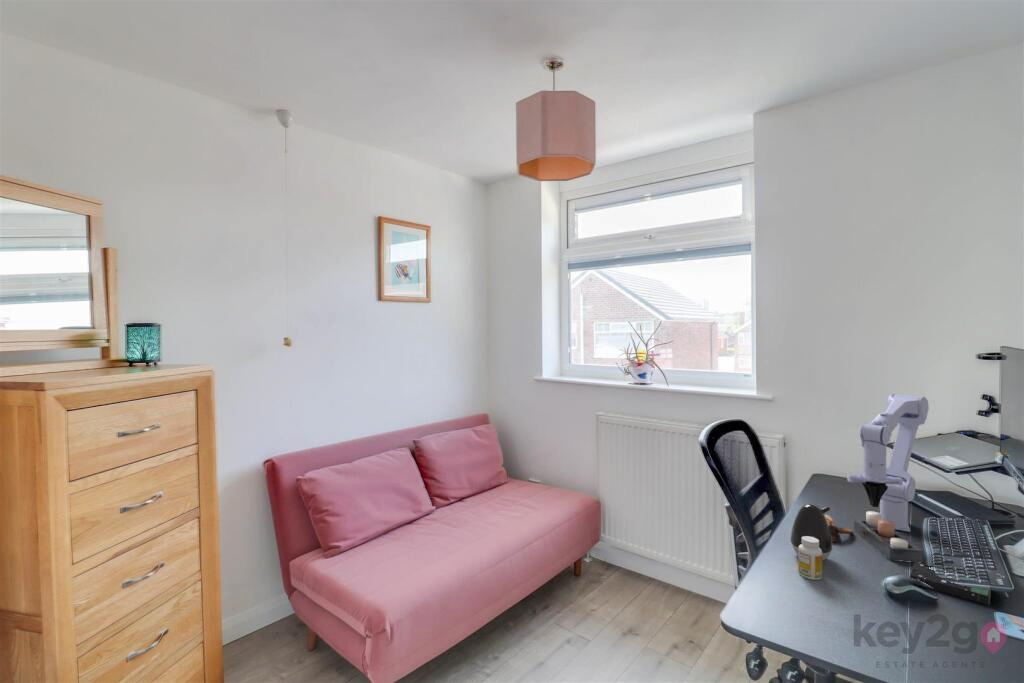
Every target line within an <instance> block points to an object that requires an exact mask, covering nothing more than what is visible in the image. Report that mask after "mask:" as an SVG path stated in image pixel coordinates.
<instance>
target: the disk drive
mask: <svg viewBox="0 0 1024 683" xmlns="http://www.w3.org/2000/svg"><path fill="white" fill-rule="evenodd" d="M933 566H934V565H931V564H930V565H929V564H926V563H918V562H915V563H914V562H913V566H912V569H911V572H910V574H909V579H910V578H913V579H916V580H920V581H922V582H924V583H926V584H928V585H930V586H931V587H933V588H934V589H936V590H935V591H938V592H941V593H944V592H945V593H944V594H947V593H949V594H948V595H951V594H952V596H954V595H956V597H958V596H960V597H959V598H961V597H965V598H968V599H971V600H970V601H972V600H974V601H973V602H975V601H978V602H977V603H979V602H982V603H986V604H989V605H988V606H990V605H991V593H992V592H991V590H992V589H991V590H982V589H977V588H972V587H967V586H961V585H958V584H955V583H951V582H949V581H945V580H943V579H941V577H939V576H937V575H936V573H935V571H934V570H931V569H929V567H930V568H931V567H933ZM965 598H964V599H965ZM968 599H967V600H968ZM982 603H981V604H982ZM986 604H985V605H986Z"/></svg>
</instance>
